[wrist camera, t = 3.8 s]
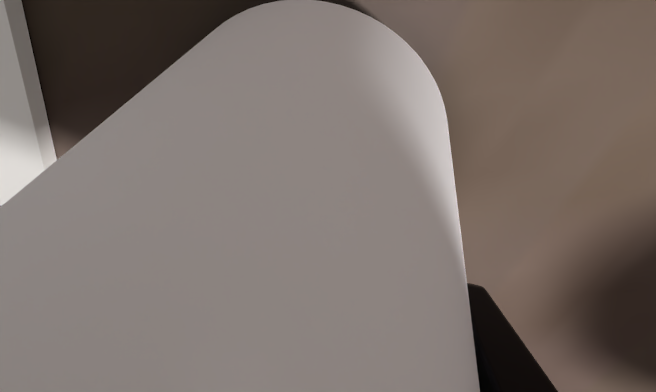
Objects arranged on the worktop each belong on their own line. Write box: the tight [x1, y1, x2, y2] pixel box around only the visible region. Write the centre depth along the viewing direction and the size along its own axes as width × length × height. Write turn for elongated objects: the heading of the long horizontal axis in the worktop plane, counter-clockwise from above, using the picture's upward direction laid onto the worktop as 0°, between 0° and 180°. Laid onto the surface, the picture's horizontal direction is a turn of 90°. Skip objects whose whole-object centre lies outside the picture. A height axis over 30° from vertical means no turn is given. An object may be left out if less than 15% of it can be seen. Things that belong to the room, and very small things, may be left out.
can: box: [0, 0, 480, 392], centre depth 8 cm, size 7×7×12 cm
